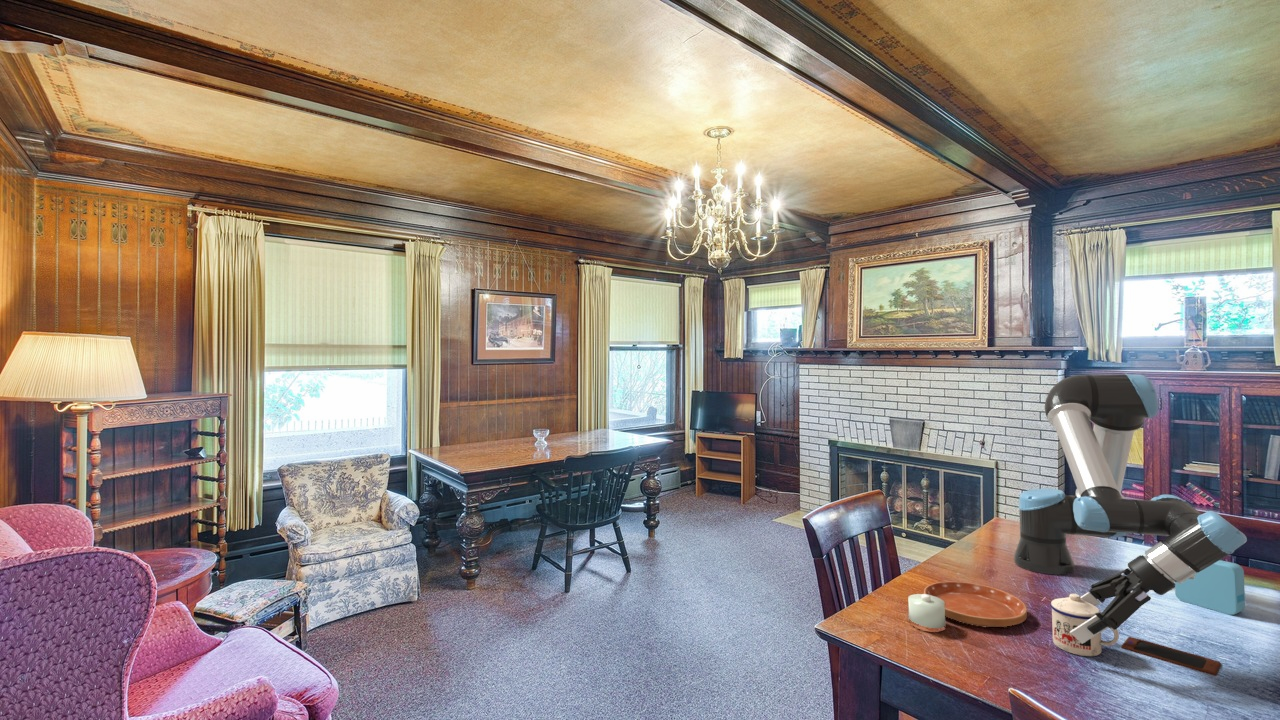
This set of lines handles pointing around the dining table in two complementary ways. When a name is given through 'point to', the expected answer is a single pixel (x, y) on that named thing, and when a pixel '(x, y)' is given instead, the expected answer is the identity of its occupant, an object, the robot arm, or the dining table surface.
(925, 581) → the dining table surface
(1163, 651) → the smartphone
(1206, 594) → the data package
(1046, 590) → the dining table surface
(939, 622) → the sugar bowl
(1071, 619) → the teacup with lid
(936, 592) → the saucer
